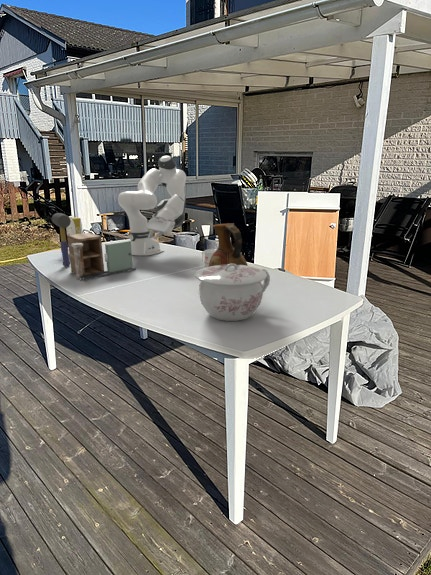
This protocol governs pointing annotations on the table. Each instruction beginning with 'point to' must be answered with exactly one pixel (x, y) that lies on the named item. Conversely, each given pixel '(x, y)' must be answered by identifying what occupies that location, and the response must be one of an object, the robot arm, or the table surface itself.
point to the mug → (207, 256)
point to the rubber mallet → (62, 234)
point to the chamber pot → (231, 290)
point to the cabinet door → (118, 256)
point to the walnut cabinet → (85, 254)
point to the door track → (104, 274)
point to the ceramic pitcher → (227, 246)
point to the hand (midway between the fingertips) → (151, 238)
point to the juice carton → (74, 226)
